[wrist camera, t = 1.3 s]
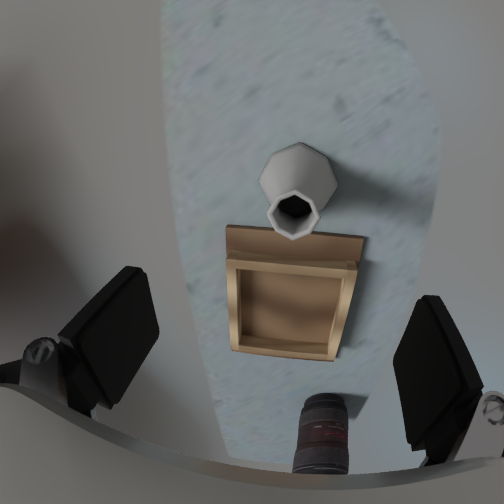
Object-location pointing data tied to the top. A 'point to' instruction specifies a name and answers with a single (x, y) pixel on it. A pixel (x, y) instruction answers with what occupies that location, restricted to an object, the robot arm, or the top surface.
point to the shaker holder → (289, 291)
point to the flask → (297, 189)
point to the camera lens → (322, 437)
